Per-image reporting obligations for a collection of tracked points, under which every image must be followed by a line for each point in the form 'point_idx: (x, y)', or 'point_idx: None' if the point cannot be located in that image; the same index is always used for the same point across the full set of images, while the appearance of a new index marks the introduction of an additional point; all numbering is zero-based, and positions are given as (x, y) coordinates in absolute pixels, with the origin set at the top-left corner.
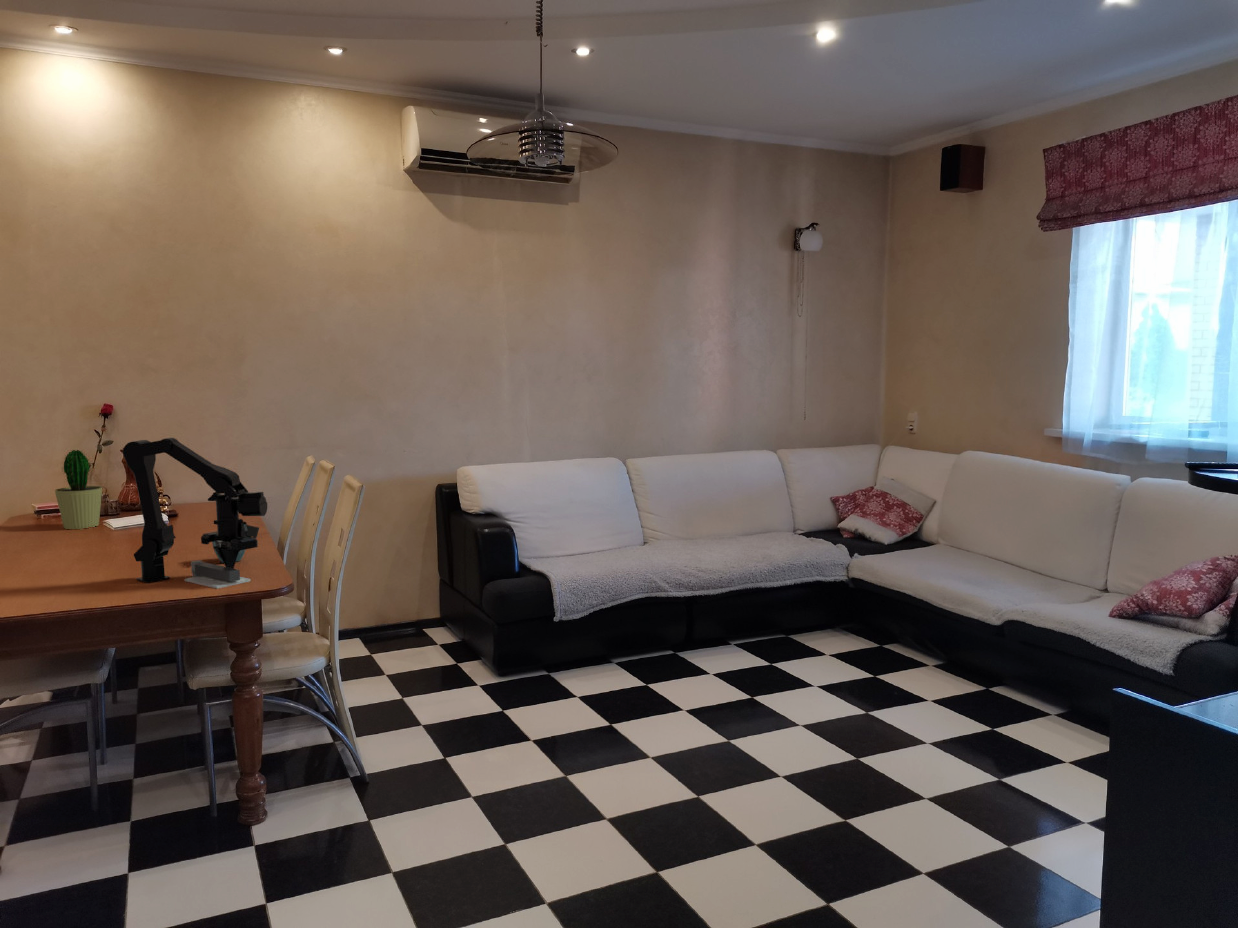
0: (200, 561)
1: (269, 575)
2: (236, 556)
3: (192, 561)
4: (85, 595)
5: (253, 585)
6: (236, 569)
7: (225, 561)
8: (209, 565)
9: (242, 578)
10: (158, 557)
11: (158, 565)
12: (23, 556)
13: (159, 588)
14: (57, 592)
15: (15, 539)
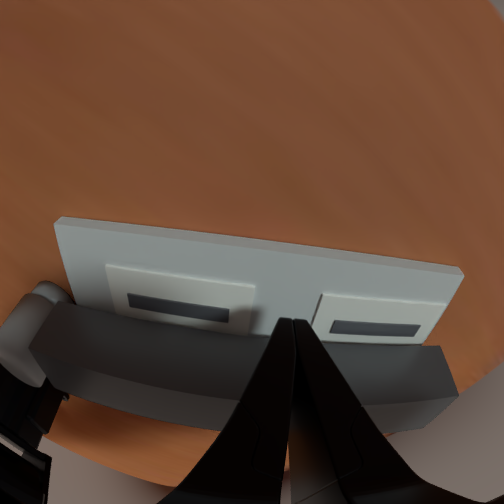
0: (23, 364)
1: (484, 83)
2: (376, 437)
3: (6, 367)
4: (109, 450)
5: (498, 312)
6: (437, 400)
7: (289, 436)
8: (144, 401)
9: (407, 285)
10: (14, 437)
11: (43, 429)
12: None
13: (162, 427)
14: (56, 433)
15: None
